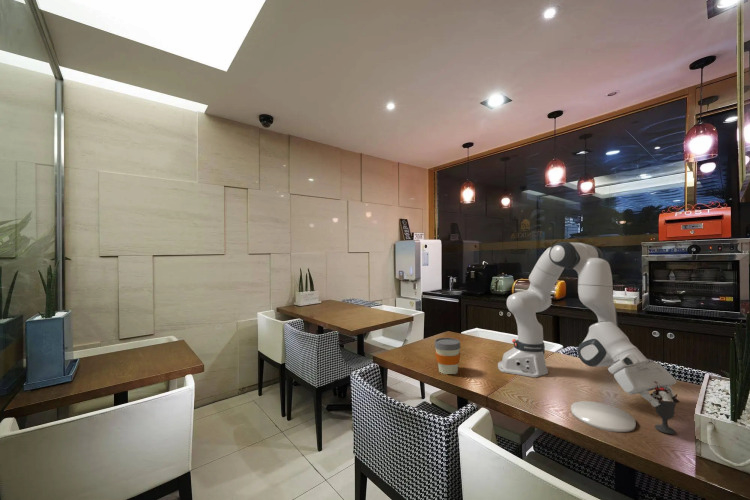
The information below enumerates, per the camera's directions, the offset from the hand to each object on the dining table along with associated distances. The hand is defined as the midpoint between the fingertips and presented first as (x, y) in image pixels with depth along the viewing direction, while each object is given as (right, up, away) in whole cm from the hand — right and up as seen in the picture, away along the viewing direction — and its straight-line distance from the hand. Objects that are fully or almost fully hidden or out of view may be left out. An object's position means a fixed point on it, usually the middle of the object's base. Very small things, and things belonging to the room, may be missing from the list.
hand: (666, 403), depth 96 cm
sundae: (0, -9, 0) cm, 9 cm away
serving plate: (-14, -9, +9) cm, 19 cm away
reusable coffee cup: (-56, -12, +54) cm, 79 cm away
